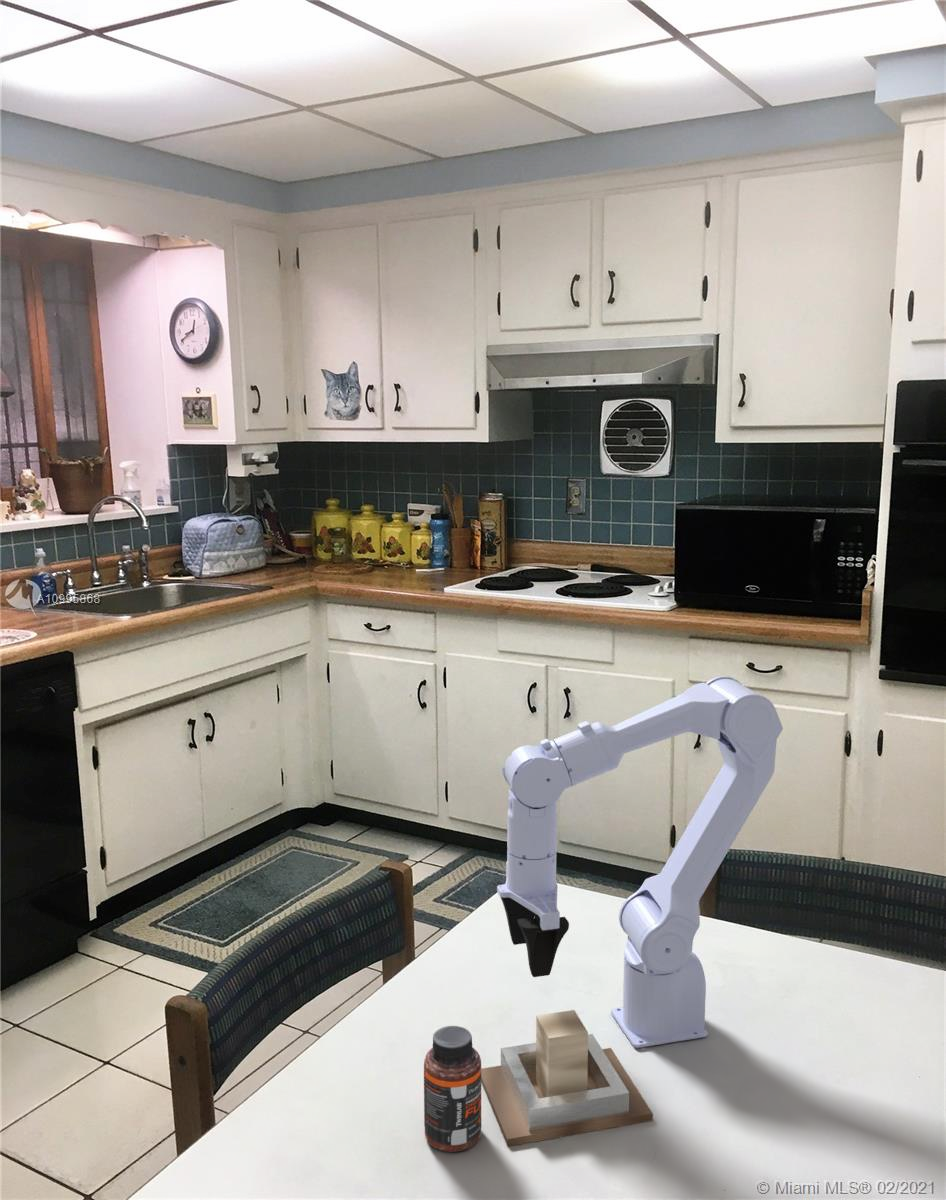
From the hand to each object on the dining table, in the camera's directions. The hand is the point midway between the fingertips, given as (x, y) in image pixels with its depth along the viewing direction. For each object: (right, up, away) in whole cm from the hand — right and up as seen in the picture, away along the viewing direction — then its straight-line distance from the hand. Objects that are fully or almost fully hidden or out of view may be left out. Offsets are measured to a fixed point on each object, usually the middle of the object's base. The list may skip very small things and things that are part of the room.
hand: (530, 958), depth 122 cm
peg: (+3, -11, -9) cm, 15 cm away
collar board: (+3, -12, -9) cm, 15 cm away
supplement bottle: (-9, -13, -15) cm, 22 cm away
